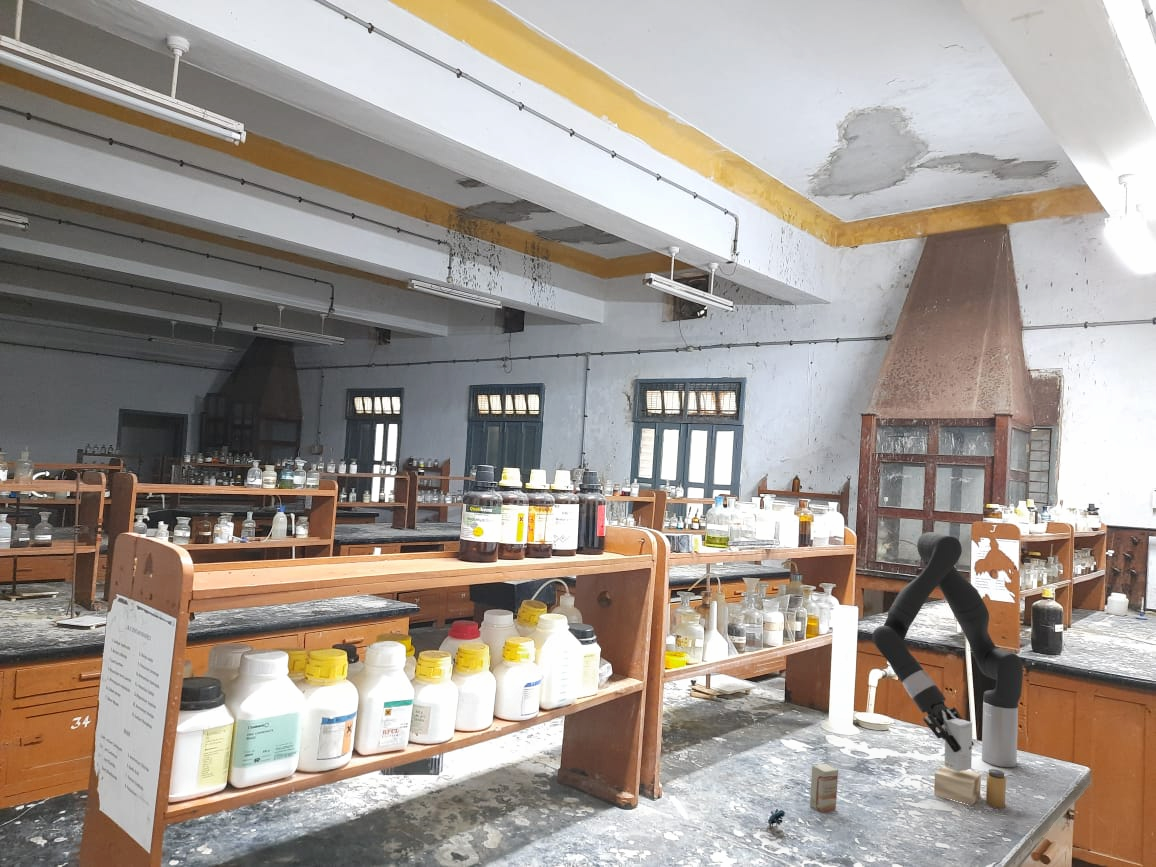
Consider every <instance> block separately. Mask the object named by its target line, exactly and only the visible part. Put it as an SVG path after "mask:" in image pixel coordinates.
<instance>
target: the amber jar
mask: <svg viewBox="0 0 1156 867" xmlns="http://www.w3.org/2000/svg"><path fill="white" fill-rule="evenodd" d="M985 788H986V791H985V792H986V796H985V803H986V802H987V803H986V804H987V805H989V806H991V807H993V808H999V809H1000V808H1002V809H1003V808H1005V807H1006V798H1007V797H1006V796H1007V794H1006V790H1007V777H1006V775H1005V772H1004V771H1002V770H1000V769H993V768H991V769H988V772H987V773H986V787H985Z"/></svg>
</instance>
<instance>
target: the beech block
mask: <svg viewBox="0 0 1156 867" xmlns="http://www.w3.org/2000/svg"><path fill="white" fill-rule="evenodd" d="M981 781H982V774H981V773H977V772H975V771H971V770H969V769H968V770H964V771H960V772H958V771H955V770H952V769H949V768H947V767H945V764H943V765H942V766H941V767H940V768H939V769H938V770H936V771H935V772H934V789H933V791H934V792H933V795H934V796H935V795H937V796H936V797H938V796H940V797H939V798H942V797H945V798H949V799H952V800H955V801H958V802H962V803H965V804H968V805H972V804H973V803H974V802H975V801H976V800H977V799H978V800H979V799H980V797H981V789H982V788H981V786H982V784H981ZM945 798H944V799H945ZM952 800H951V801H952ZM978 800H977V801H978ZM955 801H954V802H955ZM977 801H976V802H977ZM958 802H957V803H958ZM976 802H975V803H976ZM962 803H961V804H962ZM975 803H974V804H975ZM965 804H964V805H965ZM974 804H973V805H974ZM968 805H967V806H968ZM973 805H972V806H973Z"/></svg>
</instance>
